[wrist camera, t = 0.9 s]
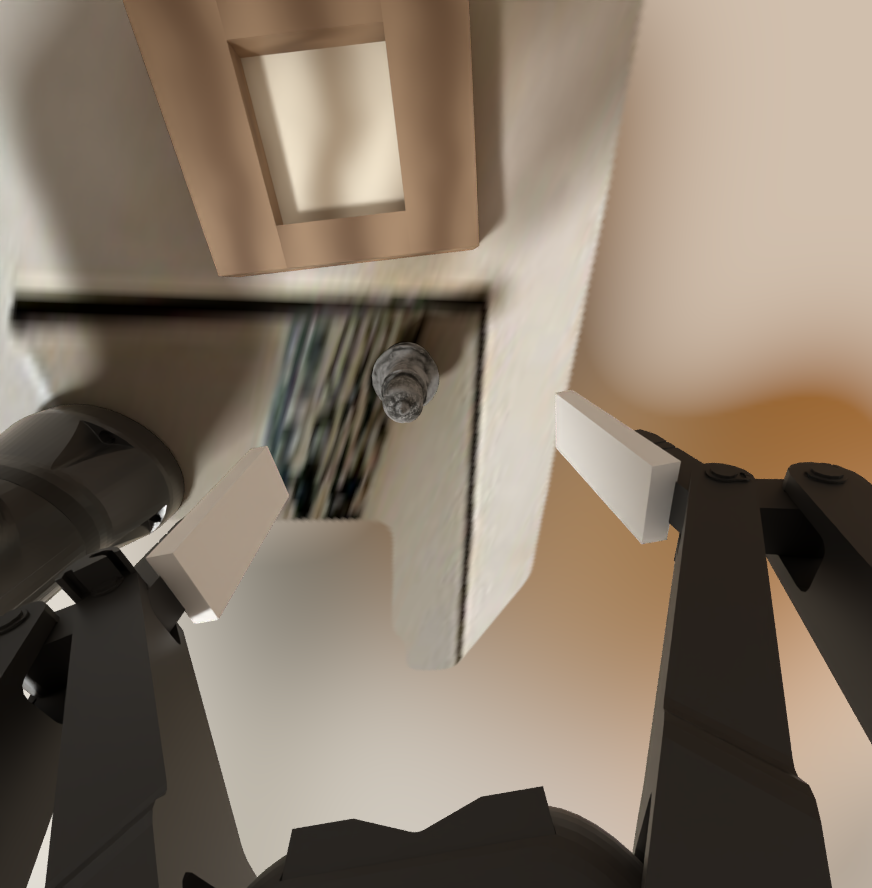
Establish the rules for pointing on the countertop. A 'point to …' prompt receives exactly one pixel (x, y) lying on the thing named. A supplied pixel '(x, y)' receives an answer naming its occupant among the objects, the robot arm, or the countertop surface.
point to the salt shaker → (405, 380)
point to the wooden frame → (318, 126)
